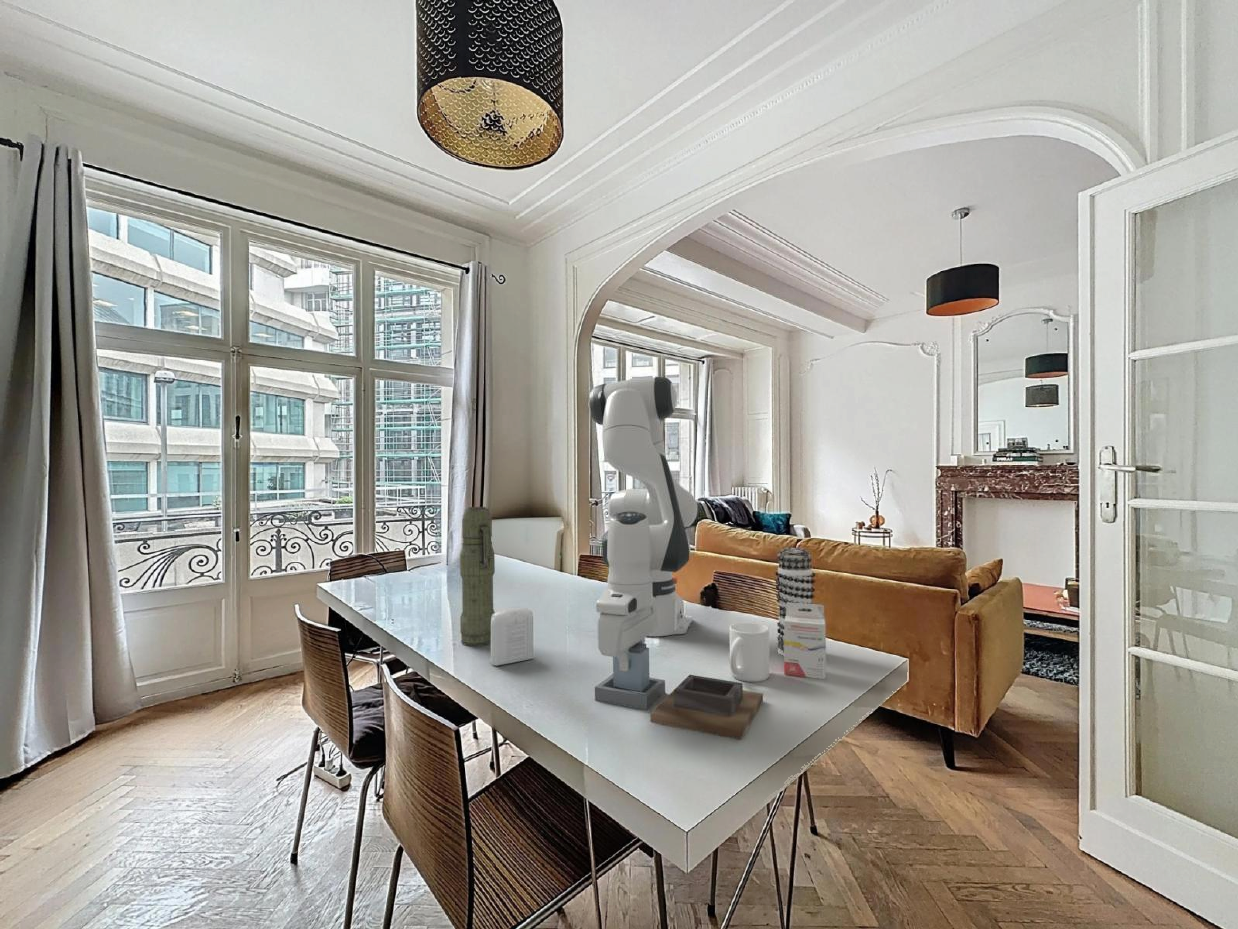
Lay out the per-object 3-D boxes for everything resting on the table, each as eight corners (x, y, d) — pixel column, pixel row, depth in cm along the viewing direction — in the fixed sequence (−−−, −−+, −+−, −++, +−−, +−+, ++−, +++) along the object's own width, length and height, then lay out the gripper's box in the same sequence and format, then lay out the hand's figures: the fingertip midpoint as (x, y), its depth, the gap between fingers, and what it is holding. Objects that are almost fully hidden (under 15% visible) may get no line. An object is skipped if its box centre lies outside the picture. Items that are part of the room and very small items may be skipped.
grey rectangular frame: (615, 684, 118) (615, 671, 118) (665, 692, 113) (664, 680, 113) (594, 700, 110) (594, 687, 110) (646, 710, 105) (646, 696, 105)
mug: (749, 691, 113) (748, 639, 113) (713, 681, 119) (712, 632, 119) (776, 674, 122) (775, 626, 122) (742, 666, 128) (741, 620, 128)
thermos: (480, 632, 156) (479, 505, 157) (505, 641, 148) (503, 507, 148) (451, 639, 150) (450, 507, 150) (475, 649, 142) (474, 509, 142)
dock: (683, 687, 116) (683, 665, 116) (763, 701, 108) (762, 677, 108) (650, 721, 100) (650, 696, 100) (740, 739, 93) (739, 712, 93)
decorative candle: (816, 661, 130) (815, 552, 130) (774, 657, 133) (773, 550, 133) (816, 649, 139) (815, 546, 139) (777, 645, 142) (775, 545, 142)
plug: (622, 679, 115) (621, 640, 115) (649, 684, 112) (648, 643, 112) (613, 686, 111) (612, 645, 111) (641, 691, 109) (640, 649, 109)
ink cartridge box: (783, 675, 122) (783, 606, 122) (785, 667, 126) (784, 601, 127) (826, 679, 119) (825, 609, 119) (826, 671, 124) (825, 604, 124)
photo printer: (528, 654, 138) (528, 603, 138) (536, 659, 134) (535, 606, 134) (488, 662, 132) (487, 609, 132) (494, 668, 128) (494, 613, 128)
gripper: (637, 583, 122) (638, 647, 122) (591, 605, 104) (592, 680, 104) (664, 585, 120) (665, 651, 120) (622, 608, 101) (623, 686, 101)
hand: (631, 665), depth 112 cm, fingers closed on plug, 4 cm apart
